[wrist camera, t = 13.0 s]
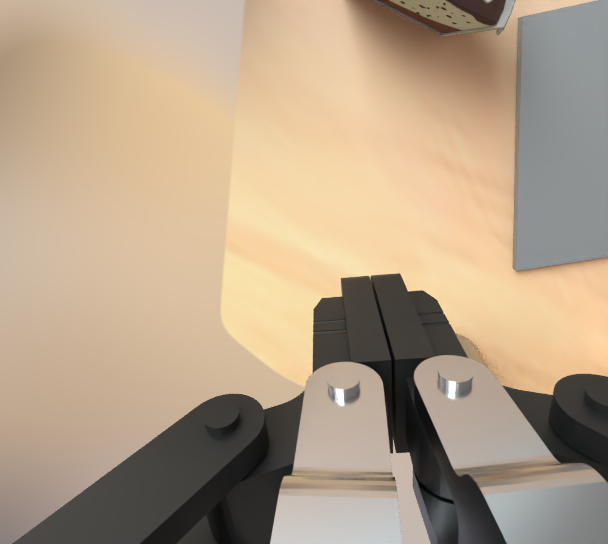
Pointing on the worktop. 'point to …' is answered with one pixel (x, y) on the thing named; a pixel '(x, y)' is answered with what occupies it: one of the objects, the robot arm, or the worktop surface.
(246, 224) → the worktop surface
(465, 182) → the worktop surface
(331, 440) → the robot arm
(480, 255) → the worktop surface
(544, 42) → the plaque display stand
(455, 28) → the food container
